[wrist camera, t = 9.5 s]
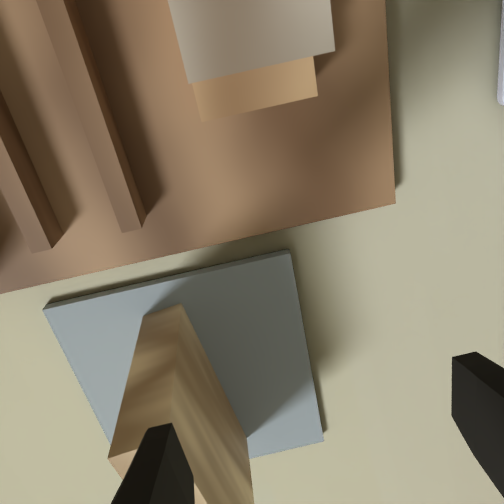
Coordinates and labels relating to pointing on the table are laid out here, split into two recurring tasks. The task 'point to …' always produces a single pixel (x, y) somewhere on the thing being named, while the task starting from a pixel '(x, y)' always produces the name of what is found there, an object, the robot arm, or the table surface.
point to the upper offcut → (248, 34)
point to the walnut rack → (170, 140)
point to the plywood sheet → (183, 409)
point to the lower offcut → (256, 89)
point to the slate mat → (206, 344)
